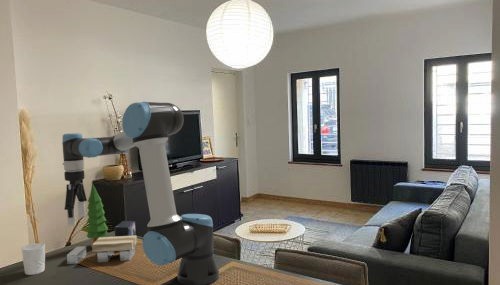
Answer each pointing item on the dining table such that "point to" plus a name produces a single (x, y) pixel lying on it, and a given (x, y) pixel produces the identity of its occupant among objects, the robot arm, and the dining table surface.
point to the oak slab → (114, 243)
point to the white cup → (34, 258)
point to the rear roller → (127, 254)
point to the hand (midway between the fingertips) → (77, 220)
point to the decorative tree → (96, 216)
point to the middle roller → (104, 256)
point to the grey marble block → (76, 255)
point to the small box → (125, 228)
